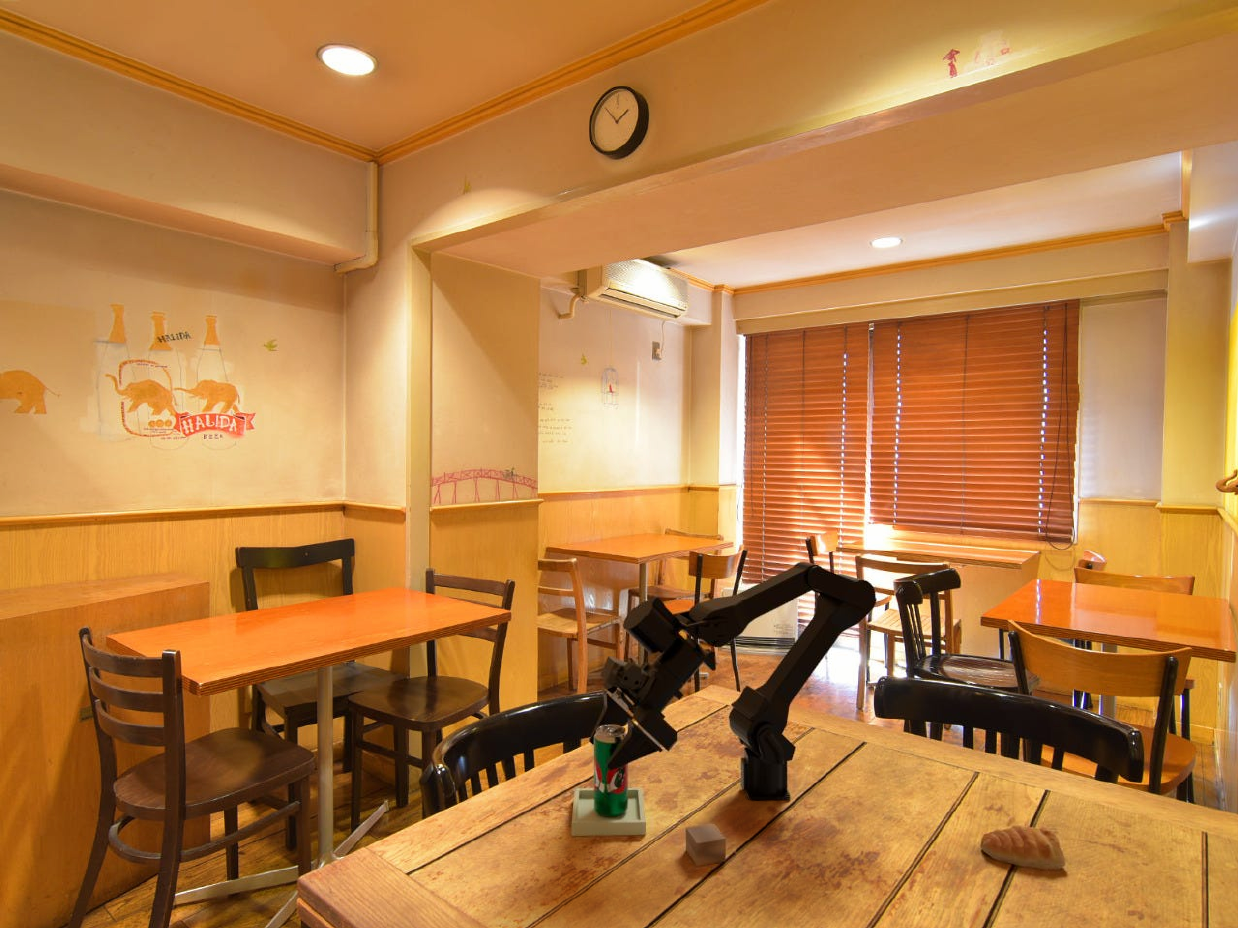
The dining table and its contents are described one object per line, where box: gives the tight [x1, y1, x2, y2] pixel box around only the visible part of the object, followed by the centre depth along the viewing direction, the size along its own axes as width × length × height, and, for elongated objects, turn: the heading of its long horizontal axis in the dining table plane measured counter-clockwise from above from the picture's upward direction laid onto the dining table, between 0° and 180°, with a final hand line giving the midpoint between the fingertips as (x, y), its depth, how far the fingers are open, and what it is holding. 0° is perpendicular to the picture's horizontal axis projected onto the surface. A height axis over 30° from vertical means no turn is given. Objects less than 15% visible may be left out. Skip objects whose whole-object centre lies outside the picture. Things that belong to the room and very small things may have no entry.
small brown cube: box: [685, 823, 727, 867], centre depth 94 cm, size 4×4×3 cm
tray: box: [571, 787, 647, 837], centre depth 105 cm, size 10×10×2 cm
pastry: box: [980, 824, 1066, 871], centre depth 94 cm, size 9×7×4 cm
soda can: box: [593, 724, 629, 818], centre depth 105 cm, size 5×5×12 cm
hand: (599, 755), depth 104 cm, fingers open, 9 cm apart
